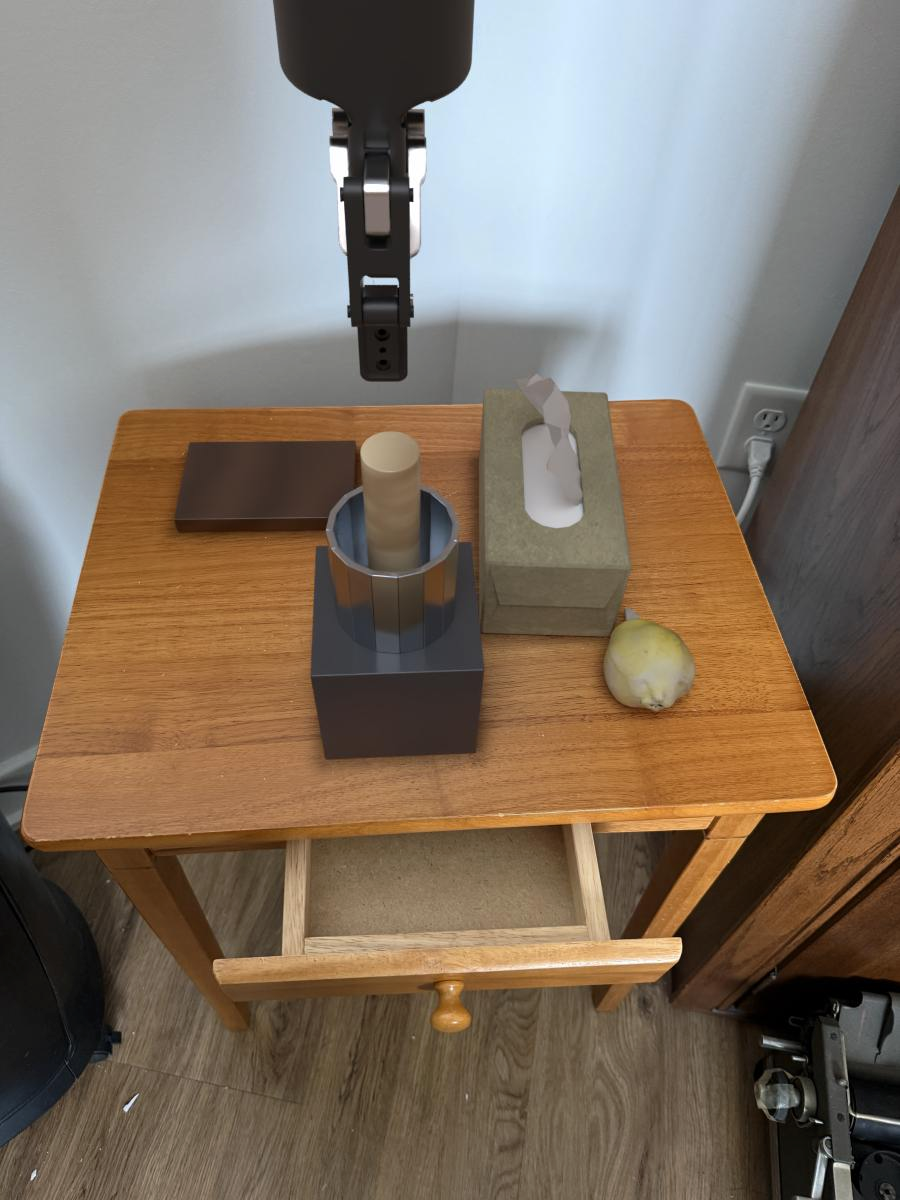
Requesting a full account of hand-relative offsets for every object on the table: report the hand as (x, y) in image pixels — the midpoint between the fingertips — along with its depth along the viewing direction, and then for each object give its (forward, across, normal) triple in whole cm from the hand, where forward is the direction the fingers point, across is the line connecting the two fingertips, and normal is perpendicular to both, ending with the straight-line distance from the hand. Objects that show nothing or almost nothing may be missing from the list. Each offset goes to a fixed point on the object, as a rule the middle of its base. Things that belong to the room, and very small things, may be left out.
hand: (384, 323), depth 44 cm
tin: (+16, +5, 0) cm, 17 cm away
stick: (+16, +5, 0) cm, 17 cm away
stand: (+26, +5, 0) cm, 27 cm away
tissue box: (+26, -9, +12) cm, 30 cm away
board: (+26, -15, -10) cm, 32 cm away
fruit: (+26, +4, +17) cm, 32 cm away
